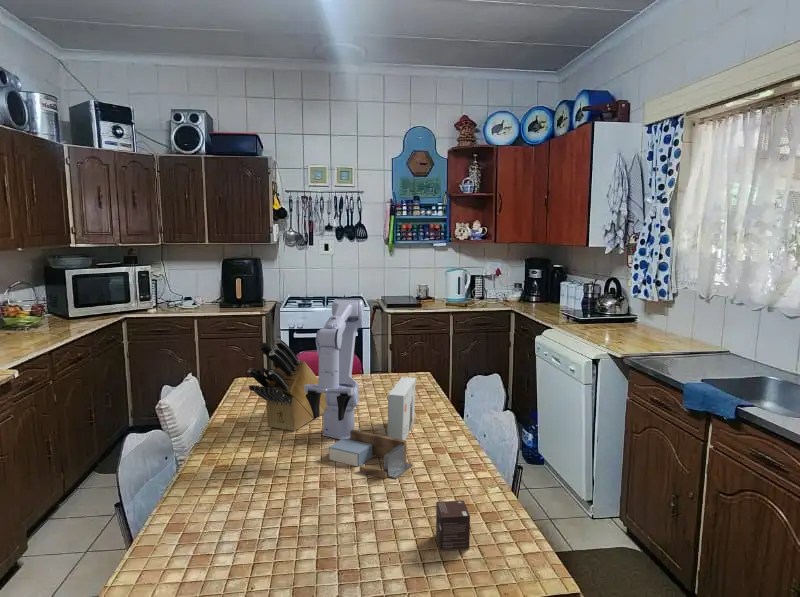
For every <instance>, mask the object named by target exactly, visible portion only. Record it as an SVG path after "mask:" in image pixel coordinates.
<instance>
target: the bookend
mask: <svg viewBox="0 0 800 597" xmlns="http://www.w3.org/2000/svg"><path fill="white" fill-rule="evenodd" d="M383 464H384V465H383V471H385V472H387V478H390V479H394V480H397V479H398V478H400V477H401V476H402V475H403V474H404V473H405V472H407V471H408V470H409V469H410V468H411V467H413V464H412V463H409V462H404V444H400V445H398V446H397V447H396V448H394V449H393V450H392V451H390V452H389V453H388V454H386V455H385V456H384V458H383Z"/></svg>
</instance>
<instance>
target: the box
mask: <svg viewBox="0 0 800 597" xmlns="http://www.w3.org/2000/svg"><path fill="white" fill-rule="evenodd" d="M435 505H436V508H435V510H436V511H435V513H436V514H435V535H436V539H437V543H438V547H439V550H440V551H441V552H443V551H444V552H447V551H448V552H449V551H458V550H469V549H470V539H471V537H470V536H471V533H470V532H471V530H470V529H471V515H470V513H469V510H468V507H467V505H466V502H465V500H463V499H462V500H451V501H450V500H449V501H448V500H447V501H445V500H443V501H436V504H435Z"/></svg>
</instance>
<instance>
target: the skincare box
mask: <svg viewBox="0 0 800 597" xmlns="http://www.w3.org/2000/svg"><path fill="white" fill-rule="evenodd" d="M415 406H416V377H410V376H409V377H408V376H401V377H400V379H399V380H398V381H397V383H396V384H395V385H394V386H393V388H392V389H391V391H390V392H389V393H388V399H387V428H386V430H387V432H386V437H391V438H395V439H400V440H405V441H407V440H406V439H407V438H408V435H409V434H410V432H411V430H412V428H413V426H414V424H415V409H416V408H415Z"/></svg>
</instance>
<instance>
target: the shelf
mask: <svg viewBox="0 0 800 597" xmlns="http://www.w3.org/2000/svg"><path fill="white" fill-rule="evenodd" d="M357 430H358V429H357ZM357 430H356V429H354V430H351V431H350V439H349V440H354V441H359V442H363V443H368V444H372V457H375V458H376V457H377V458H381V459H384V456H385V455H386V454H388V453H389V452H390V451H392V450H393V449H394V448H396V447H397V446H398V445H400V444H404V462H405V463H407V460H408V459H407V440H400V439H395V438H391V437H387V435H386V436H385V435H381V434H375V433H370V432H366V431H360V430H358V431H357ZM358 467H359V473H361V474H365V475H370V476H373V477H378V478H381V479H387V478H388V477H387V472H385V471H384V470H381V469H377V468H373V467H368V466H364V465H361V466H358Z"/></svg>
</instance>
